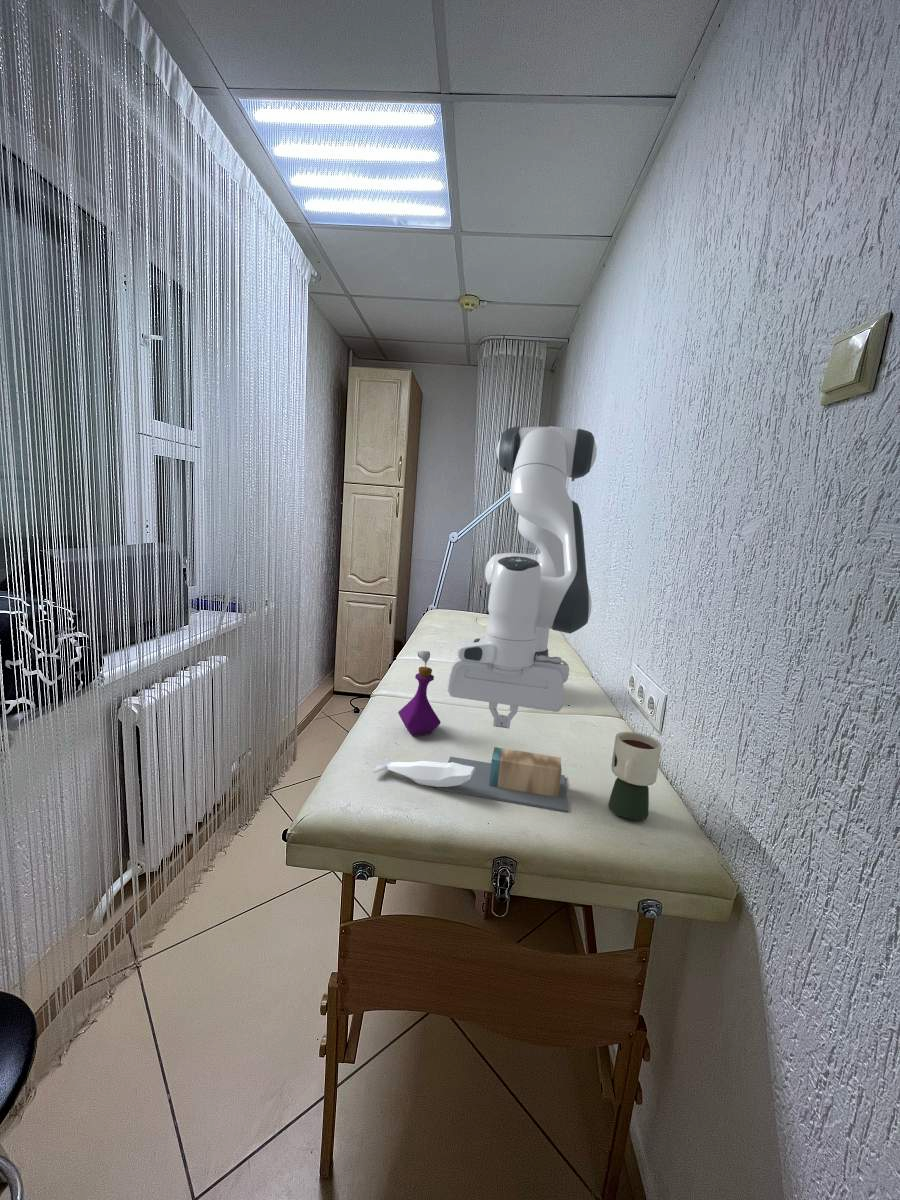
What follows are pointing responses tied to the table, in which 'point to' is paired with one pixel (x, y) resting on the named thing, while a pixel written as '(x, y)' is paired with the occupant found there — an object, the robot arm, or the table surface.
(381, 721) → the table surface
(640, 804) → the character mug
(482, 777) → the rubber mat
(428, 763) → the white fish figurine
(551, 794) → the oak block
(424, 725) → the perfume bottle
